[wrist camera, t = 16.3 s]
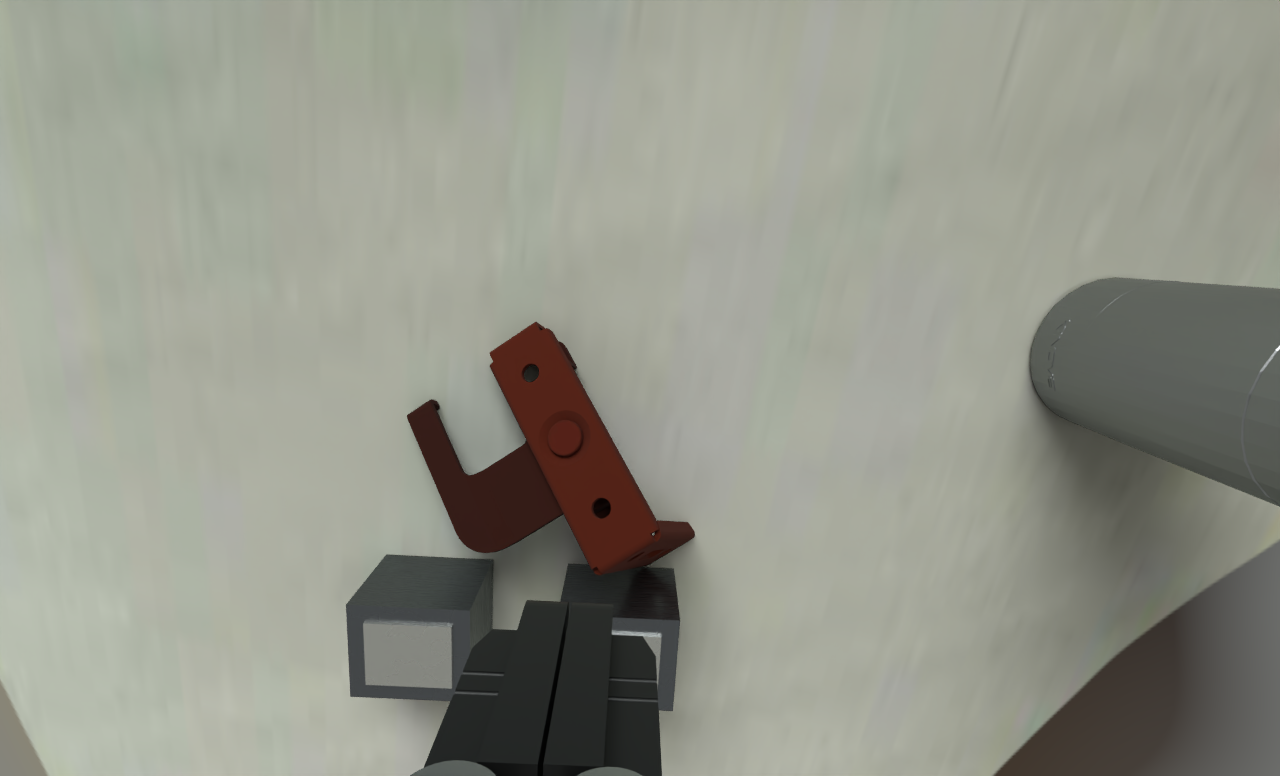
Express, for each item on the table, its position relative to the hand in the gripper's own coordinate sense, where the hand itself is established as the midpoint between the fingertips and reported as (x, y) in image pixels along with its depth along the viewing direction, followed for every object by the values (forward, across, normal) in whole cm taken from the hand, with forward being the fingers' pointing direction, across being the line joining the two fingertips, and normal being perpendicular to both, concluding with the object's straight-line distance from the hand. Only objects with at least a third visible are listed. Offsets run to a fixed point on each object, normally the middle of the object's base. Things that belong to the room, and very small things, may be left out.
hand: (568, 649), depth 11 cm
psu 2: (+29, -1, +17) cm, 34 cm away
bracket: (+30, +4, +8) cm, 31 cm away
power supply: (+29, +11, +17) cm, 35 cm away
